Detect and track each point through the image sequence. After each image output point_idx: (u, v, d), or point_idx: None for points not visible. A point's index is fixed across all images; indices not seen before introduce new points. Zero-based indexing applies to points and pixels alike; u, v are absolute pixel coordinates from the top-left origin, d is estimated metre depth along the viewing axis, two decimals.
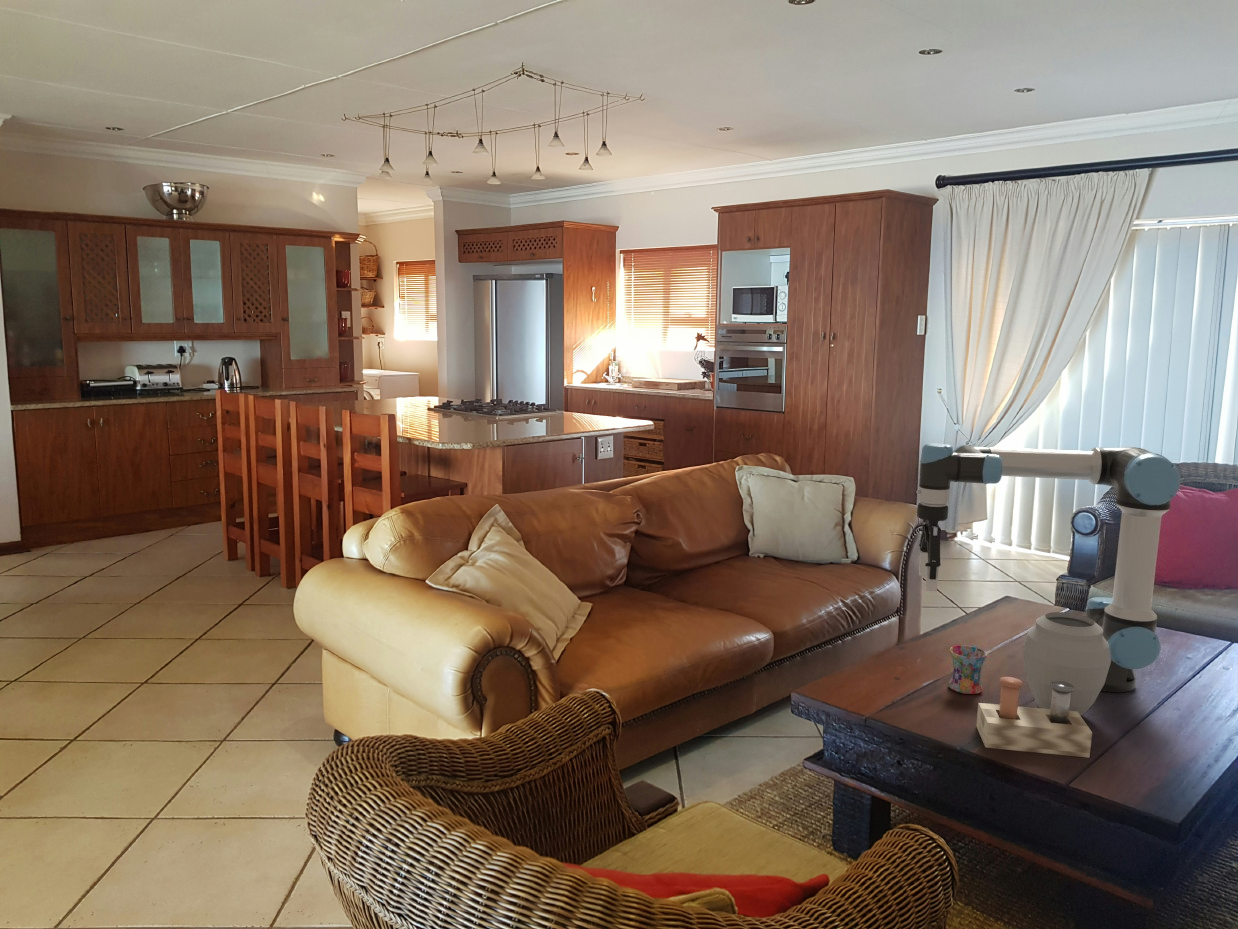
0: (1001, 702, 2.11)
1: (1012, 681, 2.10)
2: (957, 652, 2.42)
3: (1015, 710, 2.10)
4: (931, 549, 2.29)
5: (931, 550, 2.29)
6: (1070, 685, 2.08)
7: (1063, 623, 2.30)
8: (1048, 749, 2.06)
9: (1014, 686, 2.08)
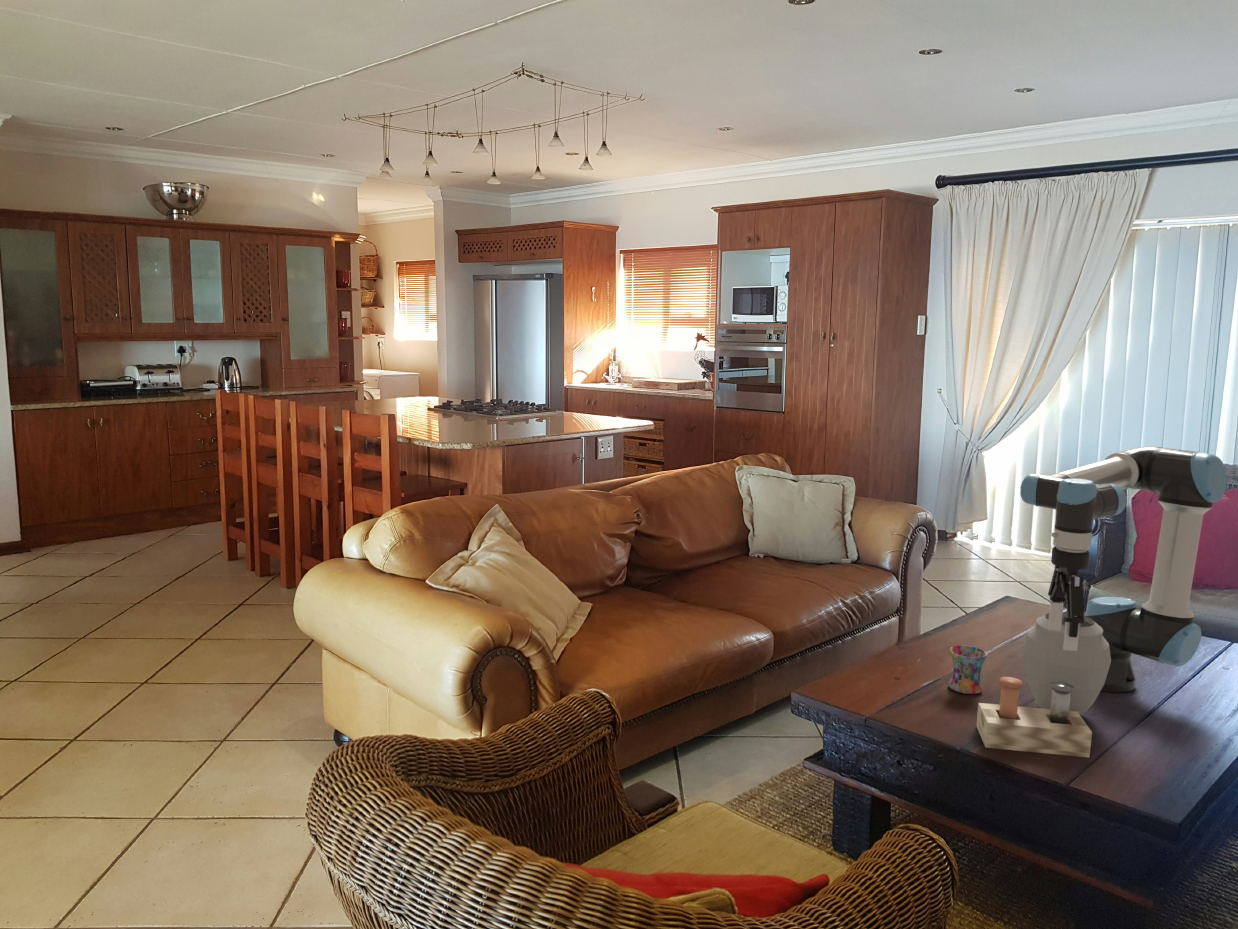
0: (1001, 702, 2.11)
1: (1012, 681, 2.10)
2: (957, 652, 2.42)
3: (1015, 710, 2.10)
4: (1073, 602, 1.97)
5: (1073, 604, 1.97)
6: (1070, 685, 2.08)
7: (1063, 623, 2.30)
8: (1048, 749, 2.06)
9: (1014, 686, 2.08)
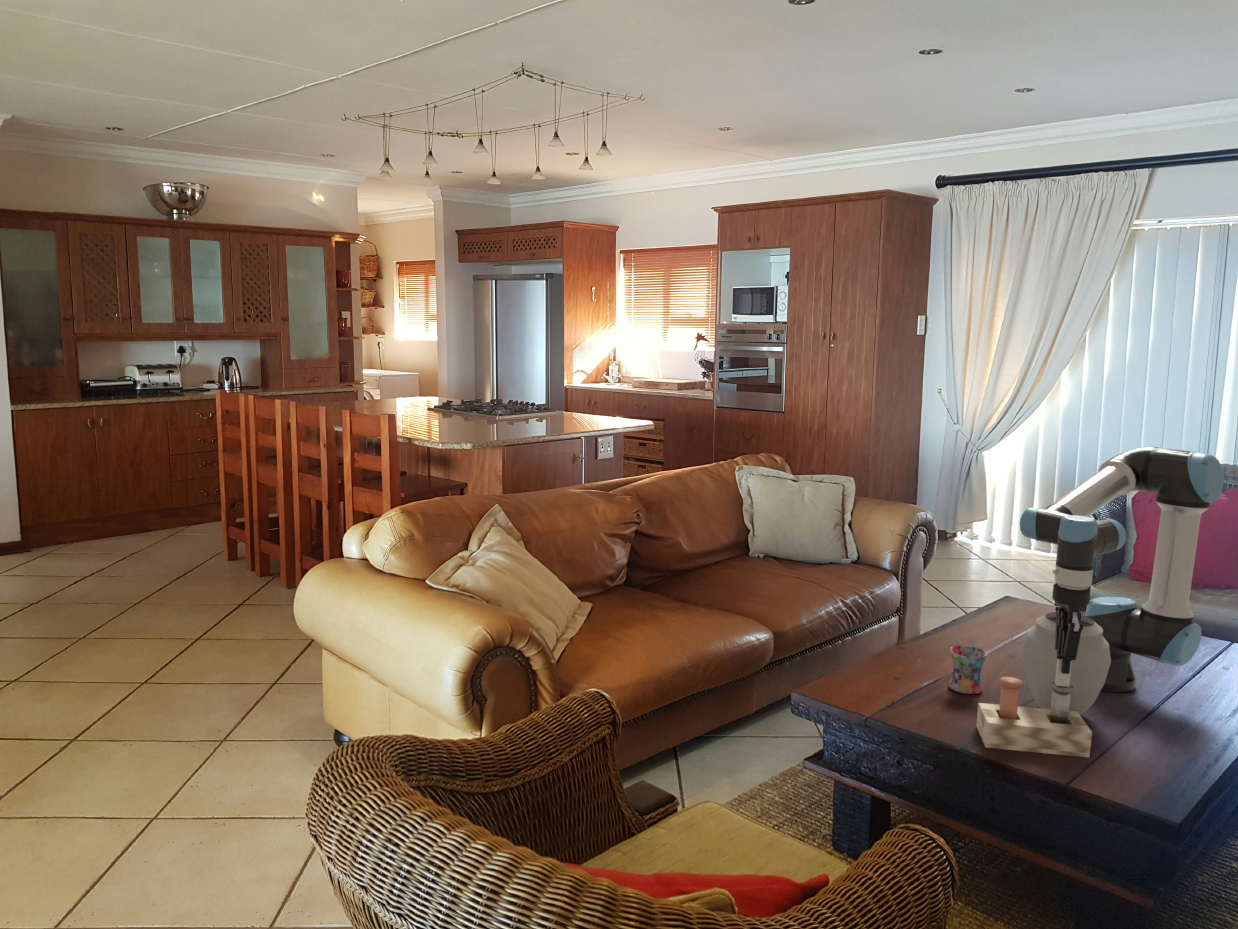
0: (1001, 702, 2.11)
1: (1012, 681, 2.10)
2: (957, 652, 2.42)
3: (1015, 710, 2.10)
4: (1068, 645, 2.02)
5: (1068, 646, 2.02)
6: (1070, 686, 2.08)
7: None
8: (1048, 749, 2.06)
9: (1014, 686, 2.08)
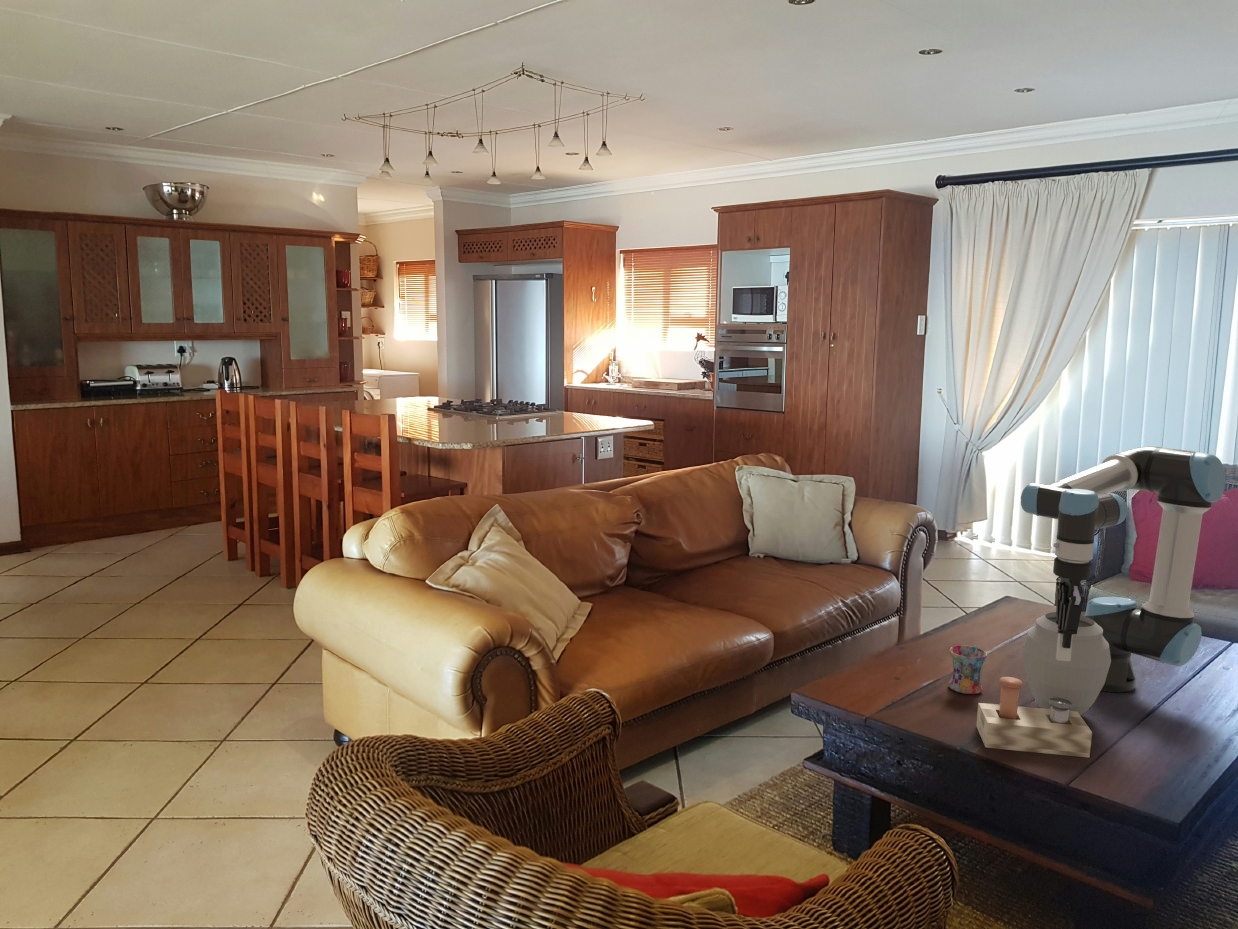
0: (1001, 702, 2.11)
1: (1012, 681, 2.10)
2: (957, 652, 2.42)
3: (1015, 710, 2.10)
4: (1069, 618, 2.01)
5: (1069, 620, 2.01)
6: (1068, 702, 2.09)
7: None
8: (1048, 749, 2.06)
9: (1014, 686, 2.08)
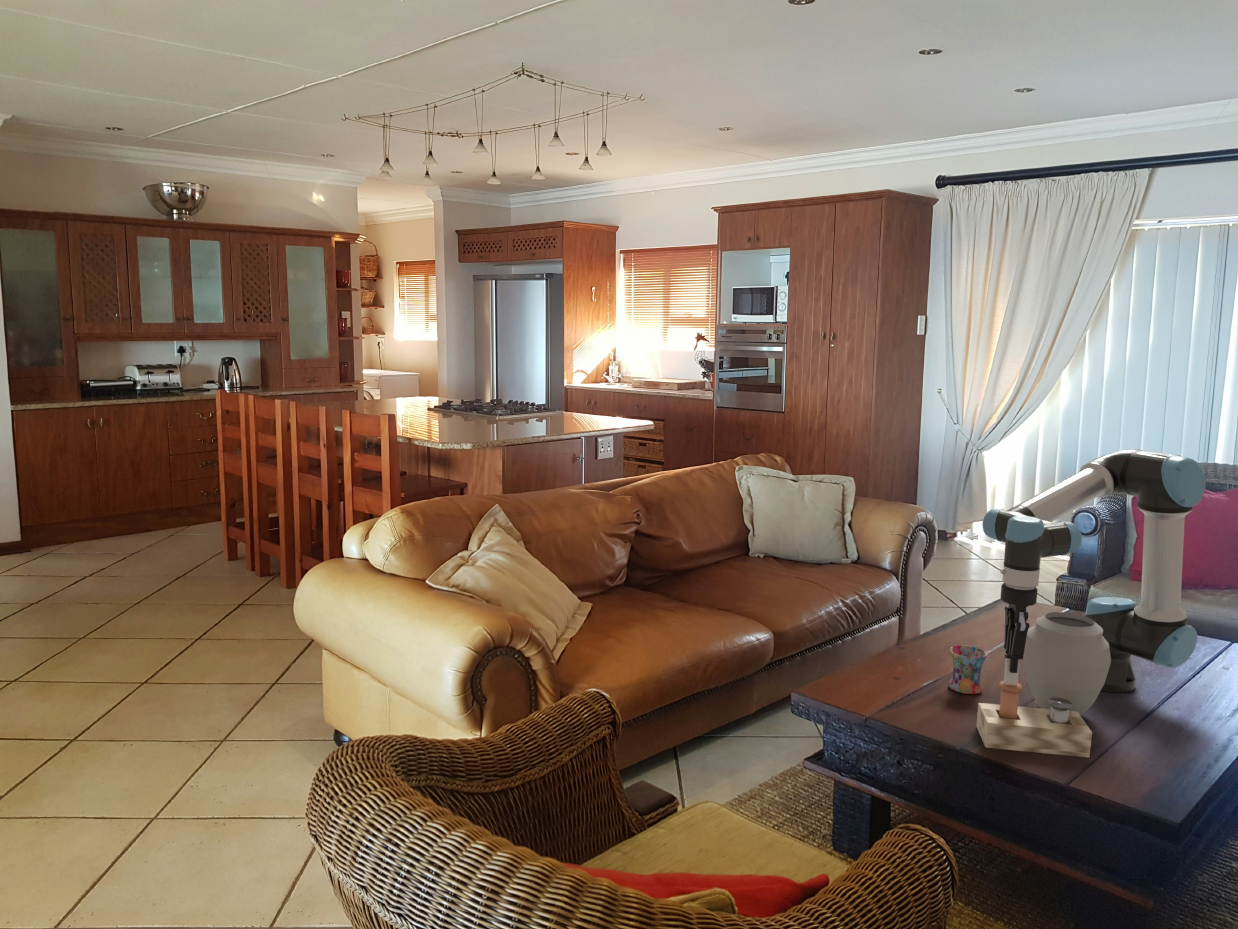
0: (1001, 706, 2.11)
1: (1011, 685, 2.10)
2: (957, 652, 2.42)
3: (1015, 714, 2.10)
4: (1015, 644, 2.04)
5: (1015, 645, 2.04)
6: (1068, 702, 2.09)
7: (1063, 623, 2.30)
8: (1048, 749, 2.06)
9: (1014, 690, 2.08)
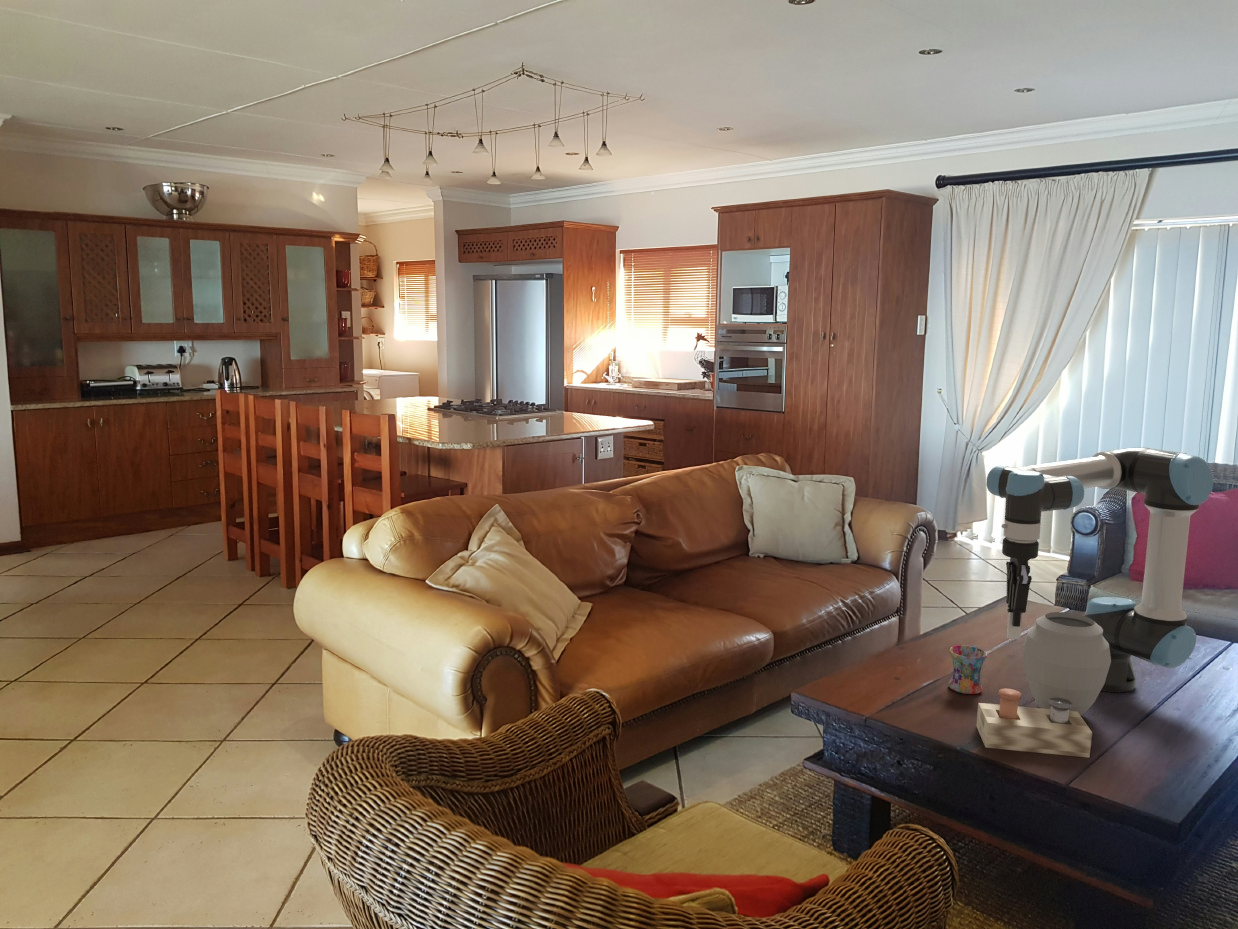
0: (1000, 714, 2.11)
1: (1011, 693, 2.10)
2: (957, 652, 2.42)
3: None
4: (1018, 597, 2.05)
5: (1017, 598, 2.05)
6: (1068, 702, 2.09)
7: (1063, 623, 2.30)
8: (1048, 749, 2.06)
9: (1013, 698, 2.08)
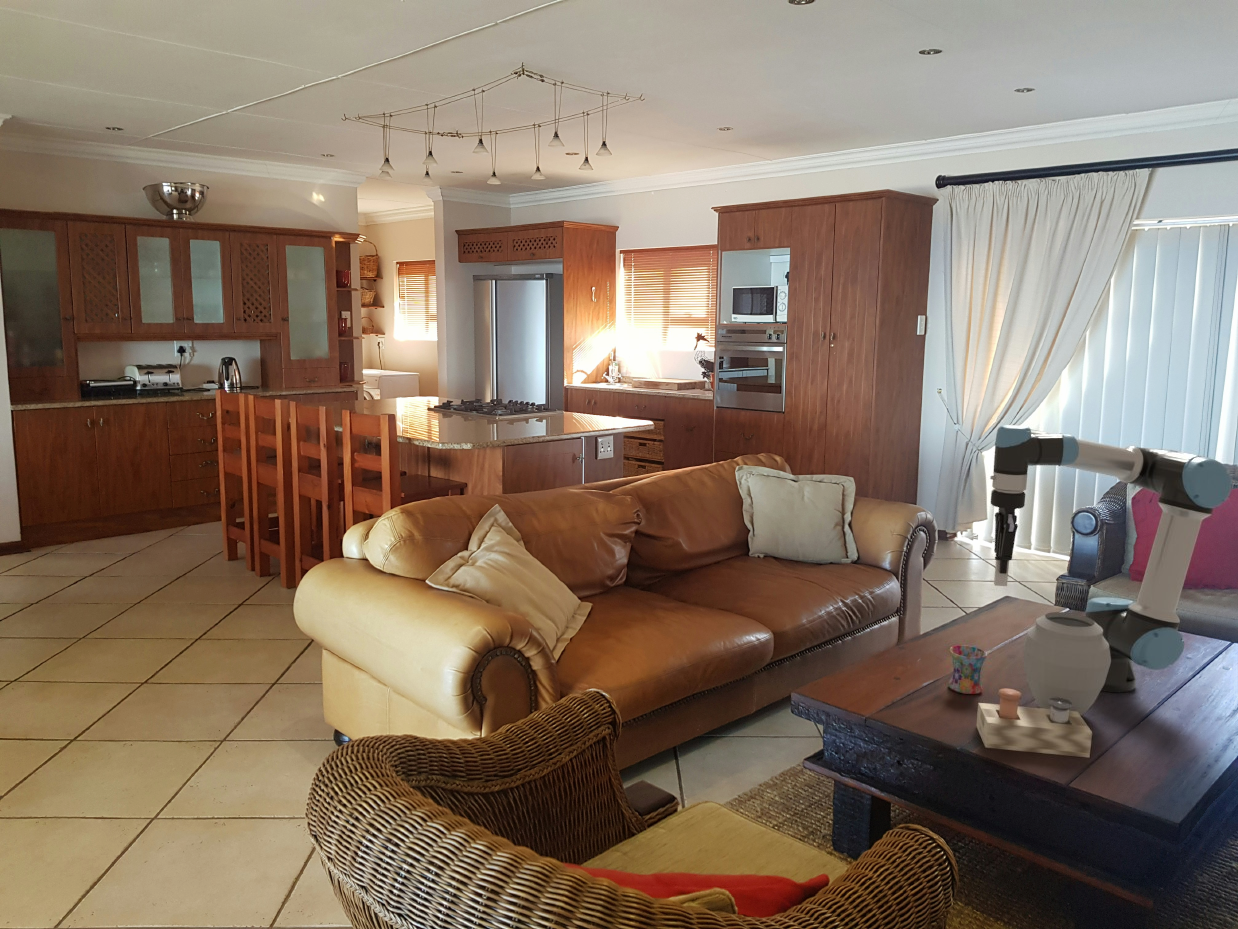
0: (1000, 714, 2.11)
1: (1011, 693, 2.10)
2: (957, 652, 2.42)
3: None
4: (1004, 545, 2.17)
5: (1004, 546, 2.17)
6: (1068, 702, 2.09)
7: (1063, 623, 2.30)
8: (1048, 749, 2.06)
9: (1013, 698, 2.08)
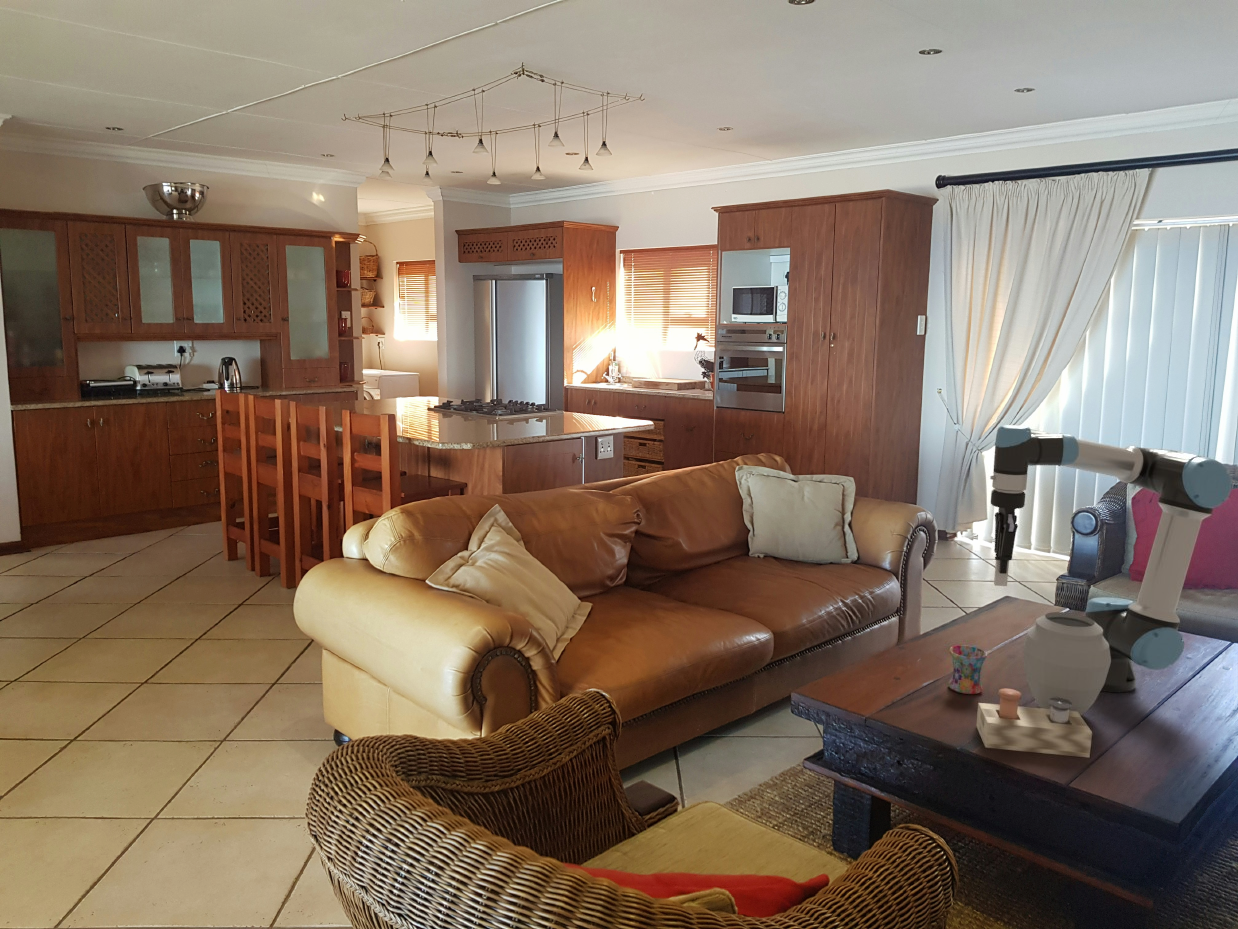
0: (1000, 714, 2.11)
1: (1011, 693, 2.10)
2: (957, 652, 2.42)
3: None
4: (1004, 545, 2.17)
5: (1004, 546, 2.17)
6: (1068, 702, 2.09)
7: (1063, 623, 2.30)
8: (1048, 749, 2.06)
9: (1013, 698, 2.08)
